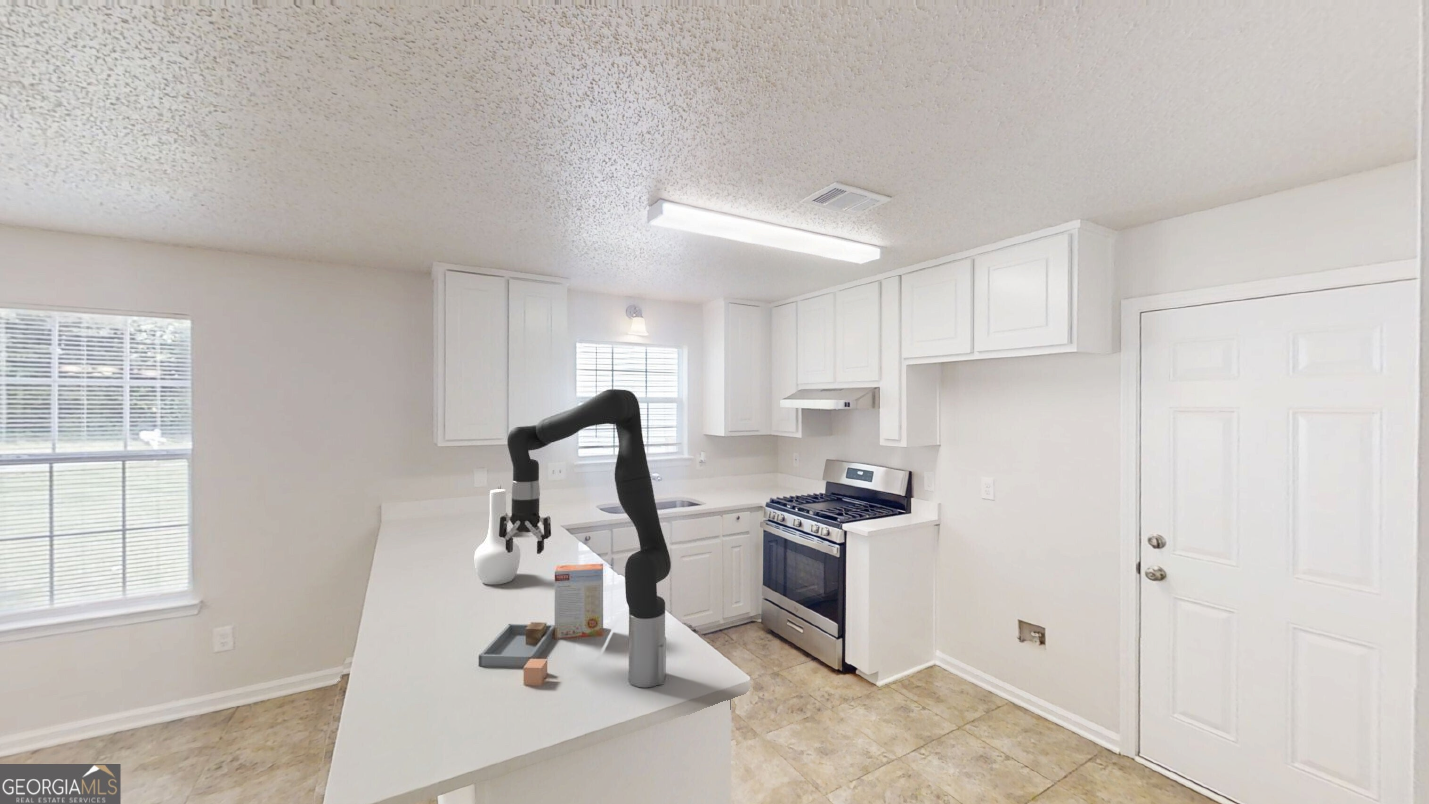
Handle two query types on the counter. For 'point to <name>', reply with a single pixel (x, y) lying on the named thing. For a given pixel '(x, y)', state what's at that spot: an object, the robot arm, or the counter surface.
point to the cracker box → (578, 601)
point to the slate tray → (514, 647)
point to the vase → (496, 547)
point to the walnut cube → (535, 632)
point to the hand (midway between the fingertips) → (524, 552)
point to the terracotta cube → (535, 672)
